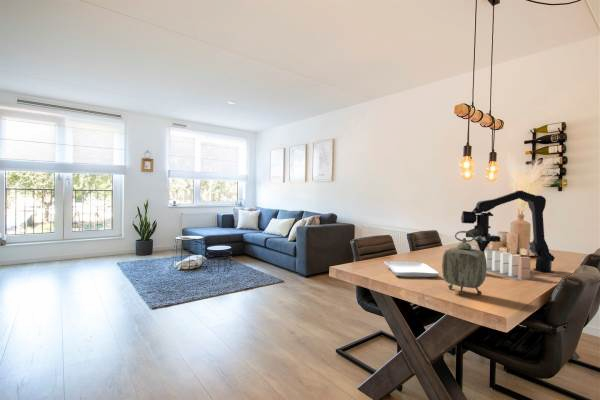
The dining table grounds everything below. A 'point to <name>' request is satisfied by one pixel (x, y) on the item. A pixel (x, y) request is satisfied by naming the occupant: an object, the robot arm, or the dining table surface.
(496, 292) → the dining table surface
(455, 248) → the tabletop clock
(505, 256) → the domino
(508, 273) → the mat
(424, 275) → the salad plate
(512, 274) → the domino
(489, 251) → the domino
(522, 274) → the domino
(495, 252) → the domino
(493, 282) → the dining table surface
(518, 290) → the dining table surface
